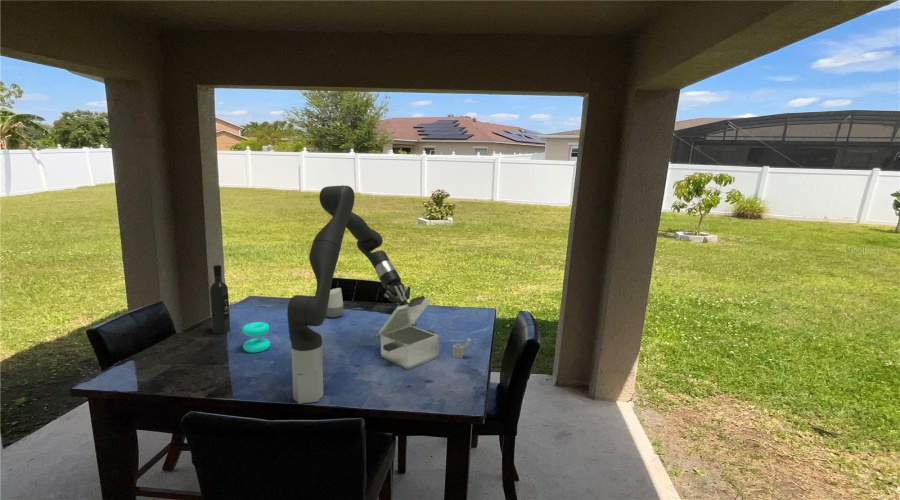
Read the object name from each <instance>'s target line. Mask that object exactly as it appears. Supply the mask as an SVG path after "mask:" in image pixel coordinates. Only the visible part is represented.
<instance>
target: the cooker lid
mask: <svg viewBox="0 0 900 500" xmlns="http://www.w3.org/2000/svg"><path fill="white" fill-rule="evenodd" d="M431 301H432V300H431V298H426V297H425V295H422V296H421V295H420V296H417V297H414V298H411V300H410V301H409V302H408V304H407V305H403V306H397V307H396V308H395V309H394V310H393V312H392V313H391V315H390V316H389V318H388V319H387V320H386V321H385V322H384V324H383V325H382V327H381V328H380V330H379V331H377V332H378V333H377V334H379V335H380V336H381V335H383V334H386V333H389V332H392V331H395V330H398V329H401V328H405V327H408V326H412V324H413V323H415V322H416V321H417V320H418V318H419V317H420V315H421V314H422V313H423V312H424V311H425V309H426V308H427V307H428V306H429V304H430V303H431Z"/></svg>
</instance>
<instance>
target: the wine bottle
mask: <svg viewBox="0 0 900 500" xmlns="http://www.w3.org/2000/svg"><path fill="white" fill-rule="evenodd" d="M213 272H214V273H213V274H214V275H213V276H214V277H213V278H214V282H213V283H212V284H211V285H210V288H209V298H210V313H211V326H212V327H211V328H212V333H213V334H218V335H223V334H226V333H228V332H229V331H231V321H230V320H231V318H230V317H231V316H230V302H229V289H228V288H229V287H228V285H227V284H226V283H225V282H224V281H223V279H222V278H223V277H222V265H219V264H217V265H213Z"/></svg>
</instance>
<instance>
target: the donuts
mask: <svg viewBox="0 0 900 500" xmlns="http://www.w3.org/2000/svg"><path fill="white" fill-rule="evenodd" d="M269 330H270V325H269V324H268V323H267V322H263V321H256V322H250V323H247V324H245V325H244V326H243V327H242V329H241V331H242V333H243V334H244V335H246V336H248V337H254V338H251V339H248V340H246V341H245V342H244V343H243V346H242V349H243V350H244V351H245V352H247V353H253V354H255V353H261V352H263V351H266V350H268V349H269V348H270V346H271V342H270V340H269V339H267V338H264V337H260V336H262V335H264V334H267V333H268V332H269ZM258 336H259V337H258Z"/></svg>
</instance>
